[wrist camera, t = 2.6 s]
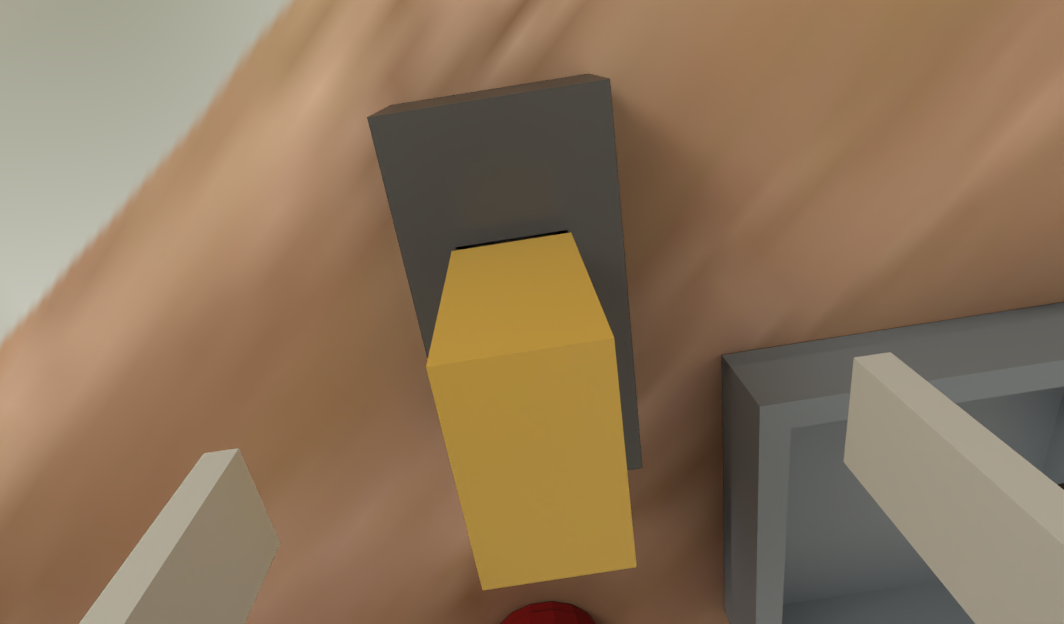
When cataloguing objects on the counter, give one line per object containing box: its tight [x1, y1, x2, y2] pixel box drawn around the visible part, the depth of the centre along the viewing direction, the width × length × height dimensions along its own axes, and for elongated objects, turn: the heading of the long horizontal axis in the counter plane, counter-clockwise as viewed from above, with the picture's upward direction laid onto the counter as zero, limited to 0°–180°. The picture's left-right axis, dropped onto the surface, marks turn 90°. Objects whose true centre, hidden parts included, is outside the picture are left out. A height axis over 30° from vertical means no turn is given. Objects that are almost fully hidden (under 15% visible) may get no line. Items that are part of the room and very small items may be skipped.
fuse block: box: [367, 74, 642, 470], centre depth 21 cm, size 7×14×4 cm, turn 8°
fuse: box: [426, 231, 637, 590], centre depth 18 cm, size 4×6×12 cm, turn 8°
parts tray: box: [722, 302, 1064, 624], centre depth 27 cm, size 16×16×4 cm
